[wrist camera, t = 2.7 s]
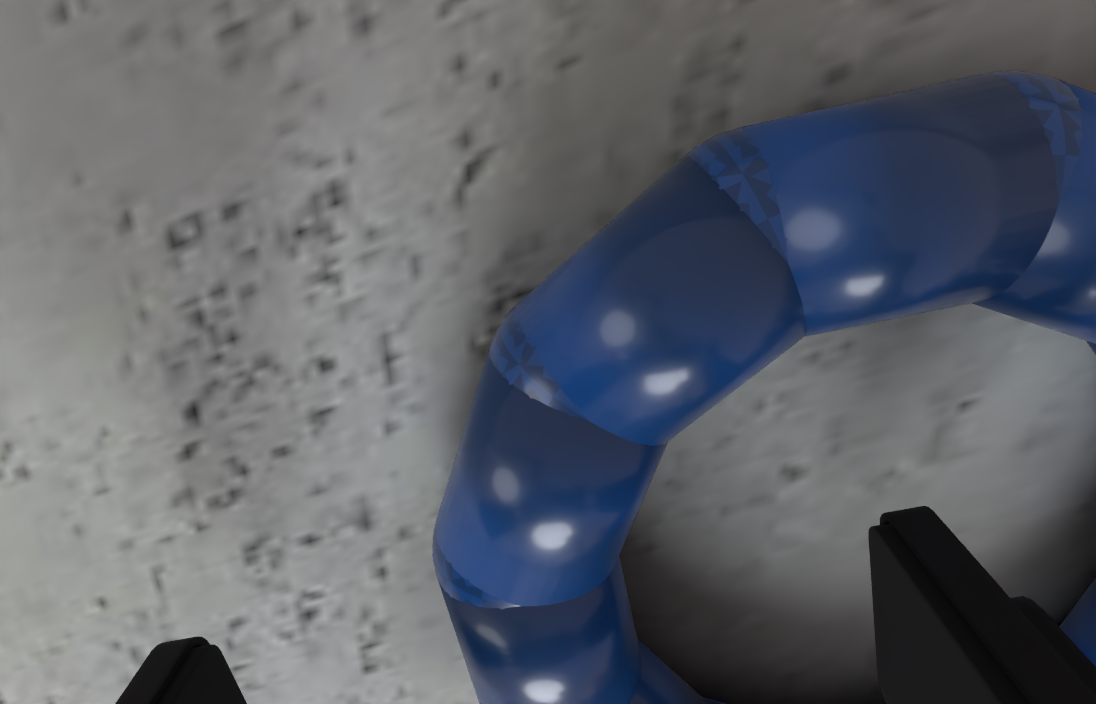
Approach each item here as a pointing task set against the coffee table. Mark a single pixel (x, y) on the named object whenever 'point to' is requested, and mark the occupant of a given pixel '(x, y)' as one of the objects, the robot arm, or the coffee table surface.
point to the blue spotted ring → (738, 343)
